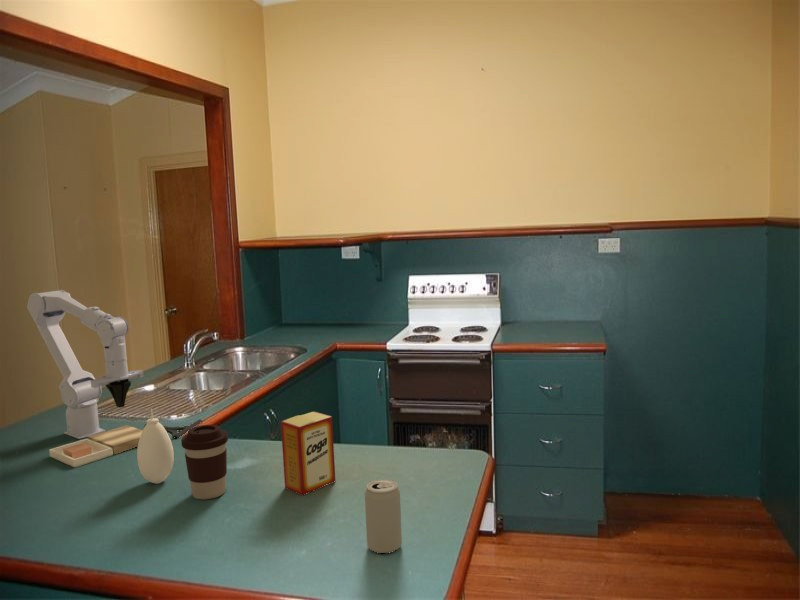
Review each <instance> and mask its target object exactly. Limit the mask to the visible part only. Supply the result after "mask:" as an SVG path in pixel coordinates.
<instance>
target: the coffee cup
mask: <svg viewBox="0 0 800 600" xmlns="http://www.w3.org/2000/svg"><path fill="white" fill-rule="evenodd" d="M228 441H229V435H228V431H226V430H224V429H221V427H220V426H219V425H217V424H216V425H215V424H204V425H203V424H201V425H198V426H197V427H194V428H192V429H190V430H189V431H188V433H186V434H185V435H183V436H182V437H181V442H180V443H181V447H182V448H183V449H185V450H184V451H185V453H184V455H185V456H184V458H185V464H186V469H187V476H188V479H189V482H190V488H191V494H192V497H193V498H195V499H197V500H205V501H206V500H211V499H216V498H218V497H220V496H222V495H224V493H225V492H226V491H227V488H226V485H227V483H226V482H227V480H226V476H227V470H228V468H227V467H228V466H227V463H228V462H227V459H228V458H227V447H226V443H228Z"/></svg>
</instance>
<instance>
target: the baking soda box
mask: <svg viewBox="0 0 800 600" xmlns="http://www.w3.org/2000/svg"><path fill="white" fill-rule="evenodd" d="M280 431H281V445H282V446H281V447H282V459H283V461H282V463H283V477H284V489H286V488H288V489H290V490H289V491H291V490H292V491H291V492H293V491H294V493H295V492H297V493H296V494H298V493H299V494H298V495H300V494H301V495H300V496H302V495H303V496H305V495H304V494H306V493H308V492H311V491H313V490H315V491H317V490H316V489H318V488H320V487H322V486H324V485H326V484H329V483H331V482H334V481H335V482H336V471H335V470H336V467H335V449H334V448H335V447H334V428H333V416H331V415H329V414H324V413H320V412H318V411H311V412H308V413H305V414H301V415H299V414H298V415H295V416H293V417H290V418H286V419H284V420H282V421H280ZM335 482H334V483H335ZM329 485H330V484H329ZM322 488H323V487H322ZM288 489H287V490H288ZM320 489H321V488H320ZM318 490H319V489H318ZM313 492H314V491H313ZM311 493H312V492H311ZM308 494H309V493H308ZM306 495H307V494H306Z"/></svg>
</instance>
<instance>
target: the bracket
mask: <svg viewBox="0 0 800 600" xmlns="http://www.w3.org/2000/svg"><path fill="white" fill-rule="evenodd" d="M200 422H203V420H202V419H198V420H196V421H195V422H193V424H192V423H190V424H191V425H190V426H184V425H183V426H184V427H179V426H180V425H179V426H166V425H162V426H163V427H164V428H165V430H166V431H167V432H168V431H170V432H169V433H171V432H172V433H173V434H172V433H171V434H172V439H173V438H174V437H176V439H177V438H178V439H180V438H181V437H180V436H182V435H183V434H185V433H186V432H187V431H188V430H190V429H191V428H193V427H194V426H196V425H197V424H199V423H200ZM146 424H147V423H146ZM146 424H144V426H143V428H144V427H145V426H146ZM177 430H182V431H178V432H179V433H177ZM186 434H187V433H186ZM186 434H185V435H186ZM183 436H184V435H183ZM183 436H182V437H183ZM179 437H180V438H179ZM174 439H175V438H174Z"/></svg>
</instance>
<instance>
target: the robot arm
mask: <svg viewBox="0 0 800 600" xmlns="http://www.w3.org/2000/svg"><path fill="white" fill-rule="evenodd" d="M26 309H27V311H28V313H29V314H30V316H31V318H32V320H33V322H34V324H35V325H36V327H37V330H38V331H39V334H40V336H41V337H42V339H43V341H44V342H45V346H46V347H47V349H48V351H49V353H50V355H51V357H52V358H53V361H54V362H55V364H56V366H57V368H58V370H59V371H60V373H61V375H62V377H63V379H62V380H61V382H60V384H59V385H58V389H59V391H60V394H61V399H62V402H63V404H65V406H67V408H66V411H65V421H66V430H67V431H64V432H63V433H64V435H67V436H70V437H73V438H75V439H78V440H82V439H86V438H88V436H91V435H95V434H98V433H102V432H105V431H106V429H104V428H101V427H100V423H99V421H100V420H99V412H98V411H99V410H98V402H99V400H100V399H99V398H101V396H102V394H103V388H102V386H105V387H106V388H107V390H108V391H109V393H110V394H111V396H112V398H113V401H114V403H115V406H116V407H117V408H123V407H125V405H126V404H125V403H126V399H127V394H128V392H129V389H130V387H131V385H132V382H131V380H133V379H136V378H144V370H142V369H137V370H129V368H128V356H127V347H126V345H127V344H126V336H127V335H128V333H129V329H130V326H129V323H128V321H127V320H126V319H125V318H124V317H123V316H121V315H120V316H116V317H115V316H112V314H110V313H107V312H104V311H103V310H101V309H100V307H98V306H89V307H87V306H86V305H84V304H82V303H81V302H79V301H77V300H76V299H74V298H73V297H72V296H71V293H70V292H67V291H65V290H64V289H58V290H52V291H46V292H33V293H31V294H30V295H29V296H28V301H27V307H26ZM66 313H67V314H70V315H71V316H74V317H77V318H79V319H80V322H81V324H82V325H84V326H86V327H87V328H89V329H91V330H93V331H94V332H96V333H97V336H98V338H99V339H100V343H101V345H102V346H103V353H104V354H103V355H104V364H105V376H101V377H98V378H95V376H94V374H93V373H91V372H89V371H86V370H84V369H83V368H82V366H81V364H80V363H79V361H78V359H77V356H76V355H75V353H74V351H73V349H72V348H71V345H70V343H69V342H68V340H67V339H68V338H66V336H65V334H64V332H63V330H62V328H61V327H60V321H62V320H63V319H64V317H65V316H66V315H65V314H66Z"/></svg>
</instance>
